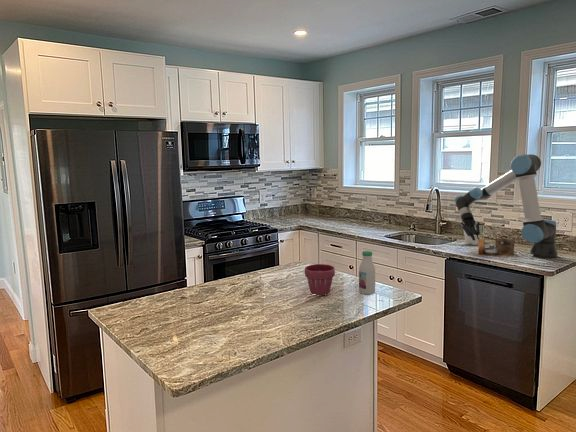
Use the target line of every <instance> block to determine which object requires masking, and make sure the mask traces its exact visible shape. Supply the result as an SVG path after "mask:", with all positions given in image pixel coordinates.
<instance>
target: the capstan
mask: <svg viewBox="0 0 576 432" xmlns="http://www.w3.org/2000/svg"><path fill="white" fill-rule="evenodd" d="M477 246H478V247H477V249H478V254H487V255H498V254H499V249H498V248H495V245H494V244H489V246H486V238H485V237H484V238H479V244H478V245H477Z"/></svg>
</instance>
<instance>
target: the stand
mask: <svg viewBox="0 0 576 432" xmlns="http://www.w3.org/2000/svg"><path fill="white" fill-rule="evenodd" d="M495 248H498V249H499V254H498V255H487V254H478V248H474V249H471V250H470V251H468V252H467V254H471V255H478V256H483V257H484V256H485V257H493V258H500V259H508V258H509V257H511V256H512V255H514V254H515V239H513V238H504V237H503V238H502V237H495Z"/></svg>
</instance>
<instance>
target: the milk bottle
mask: <svg viewBox="0 0 576 432" xmlns="http://www.w3.org/2000/svg"><path fill="white" fill-rule="evenodd" d="M361 254H362V255H361V256H362V260H361V261H360V265H359V267H358V268H359V270H358V292H359V294H361V293H363V294H362V295H367V294H369V295H374V294H375V293H376V266H375V264H374V262H373V252H372V251H370V250H364V251H362V253H361ZM373 293H374V294H373Z"/></svg>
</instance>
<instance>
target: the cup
mask: <svg viewBox="0 0 576 432" xmlns="http://www.w3.org/2000/svg"><path fill="white" fill-rule="evenodd" d="M462 230H463V234H464V241H465V245H475V242H474V240H472V238H471V237H470V236H468V235H467V234H466V232H465V231H464V229H463V228H462Z"/></svg>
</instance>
